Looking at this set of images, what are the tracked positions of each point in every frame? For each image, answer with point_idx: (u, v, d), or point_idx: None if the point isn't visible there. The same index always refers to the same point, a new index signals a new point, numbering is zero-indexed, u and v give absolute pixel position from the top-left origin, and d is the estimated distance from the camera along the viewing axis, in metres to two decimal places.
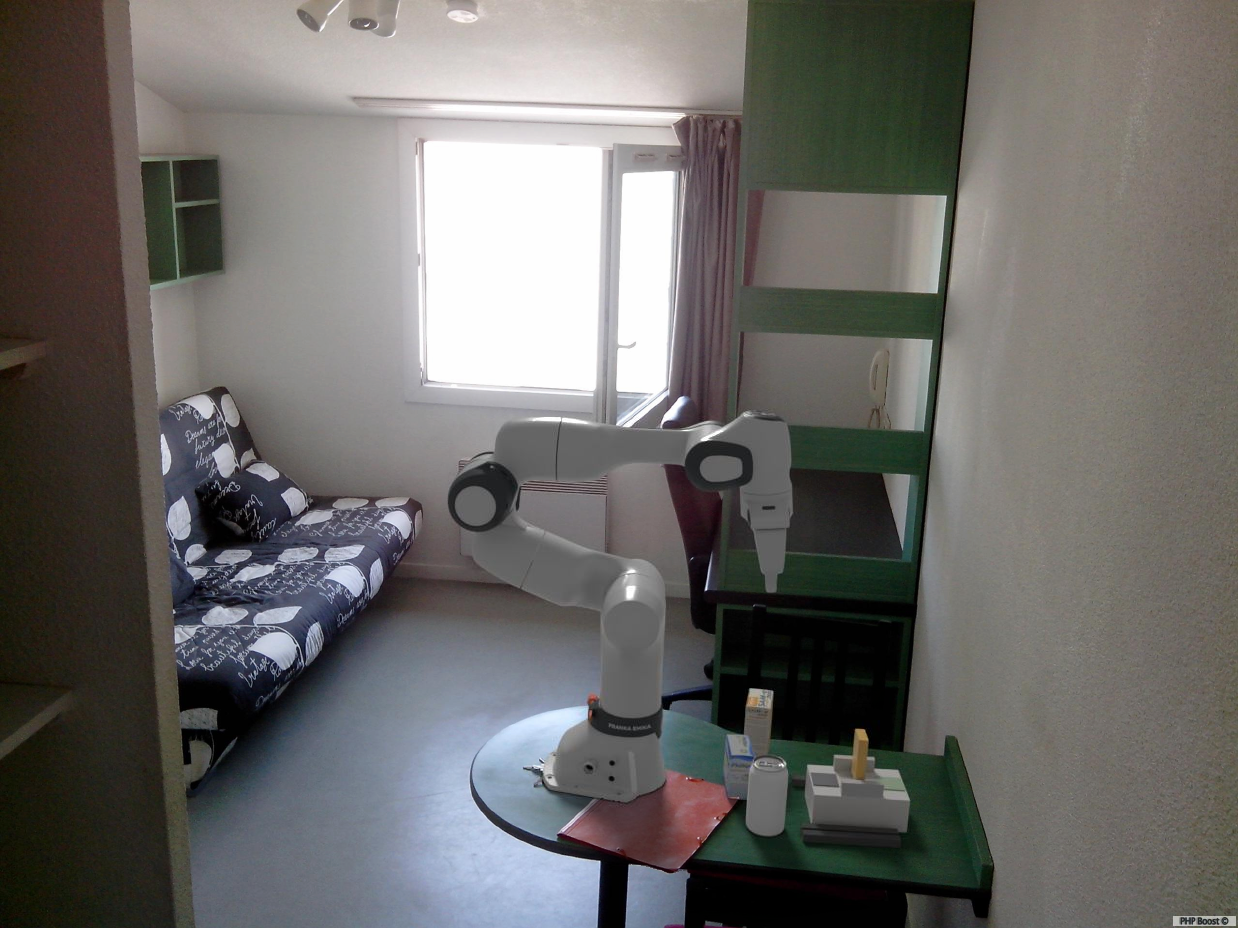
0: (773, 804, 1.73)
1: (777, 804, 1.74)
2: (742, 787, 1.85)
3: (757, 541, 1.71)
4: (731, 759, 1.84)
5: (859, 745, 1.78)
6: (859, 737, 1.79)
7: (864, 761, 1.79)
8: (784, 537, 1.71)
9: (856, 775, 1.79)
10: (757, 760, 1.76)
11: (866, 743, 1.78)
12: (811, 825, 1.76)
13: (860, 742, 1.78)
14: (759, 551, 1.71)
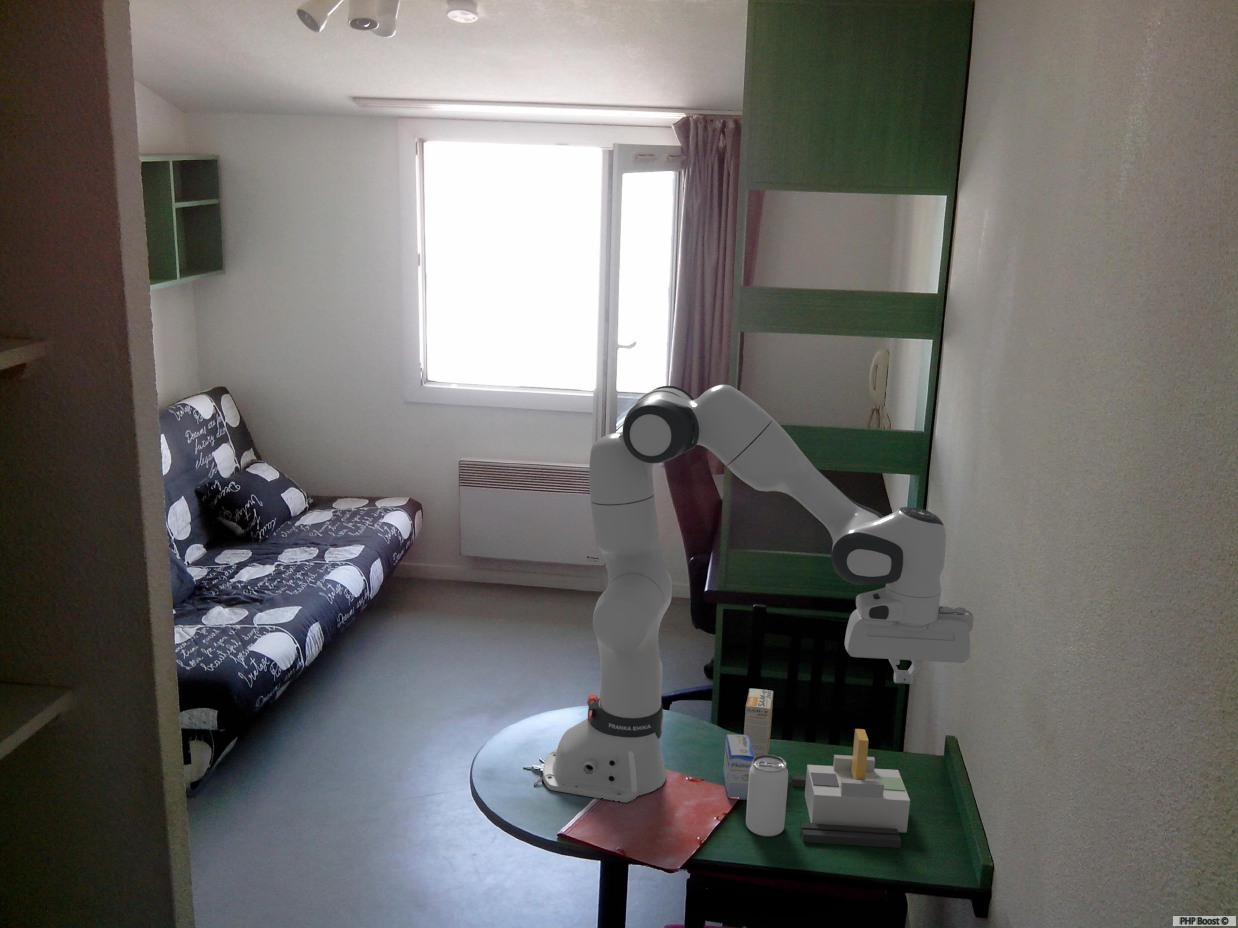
0: (773, 804, 1.73)
1: (777, 804, 1.74)
2: (742, 787, 1.85)
3: None
4: (731, 759, 1.84)
5: (859, 745, 1.78)
6: (859, 737, 1.79)
7: (864, 761, 1.79)
8: (855, 623, 1.73)
9: (856, 775, 1.79)
10: (757, 760, 1.76)
11: (866, 743, 1.78)
12: (811, 825, 1.76)
13: (860, 742, 1.78)
14: None
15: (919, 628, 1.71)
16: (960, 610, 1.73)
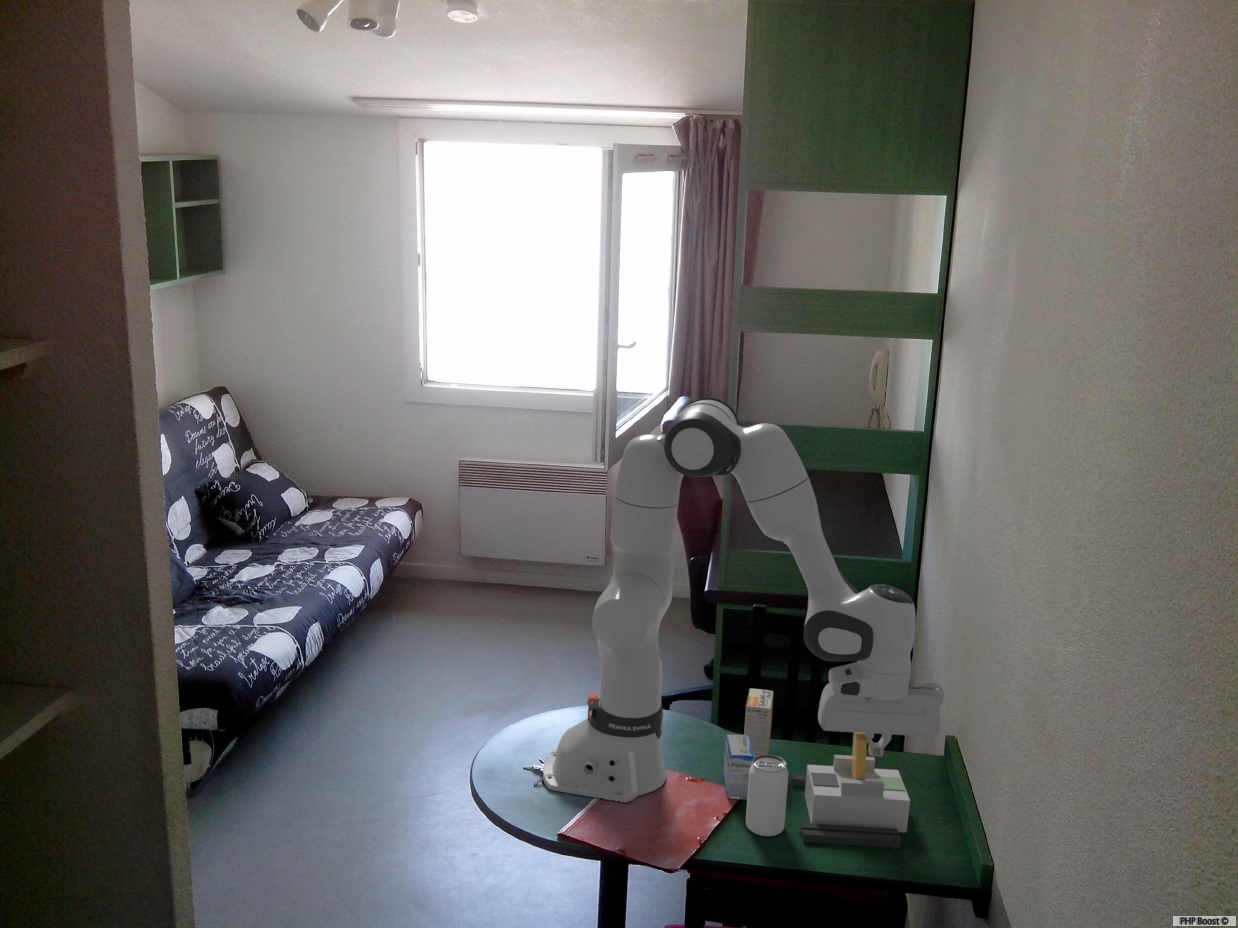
0: (773, 804, 1.73)
1: (777, 804, 1.74)
2: (742, 787, 1.85)
3: None
4: (731, 759, 1.84)
5: (858, 745, 1.78)
6: (858, 737, 1.79)
7: (863, 761, 1.79)
8: (828, 699, 1.76)
9: (856, 775, 1.79)
10: (757, 760, 1.76)
11: (865, 743, 1.78)
12: (811, 825, 1.76)
13: (859, 742, 1.78)
14: None
15: (890, 703, 1.75)
16: (930, 685, 1.76)
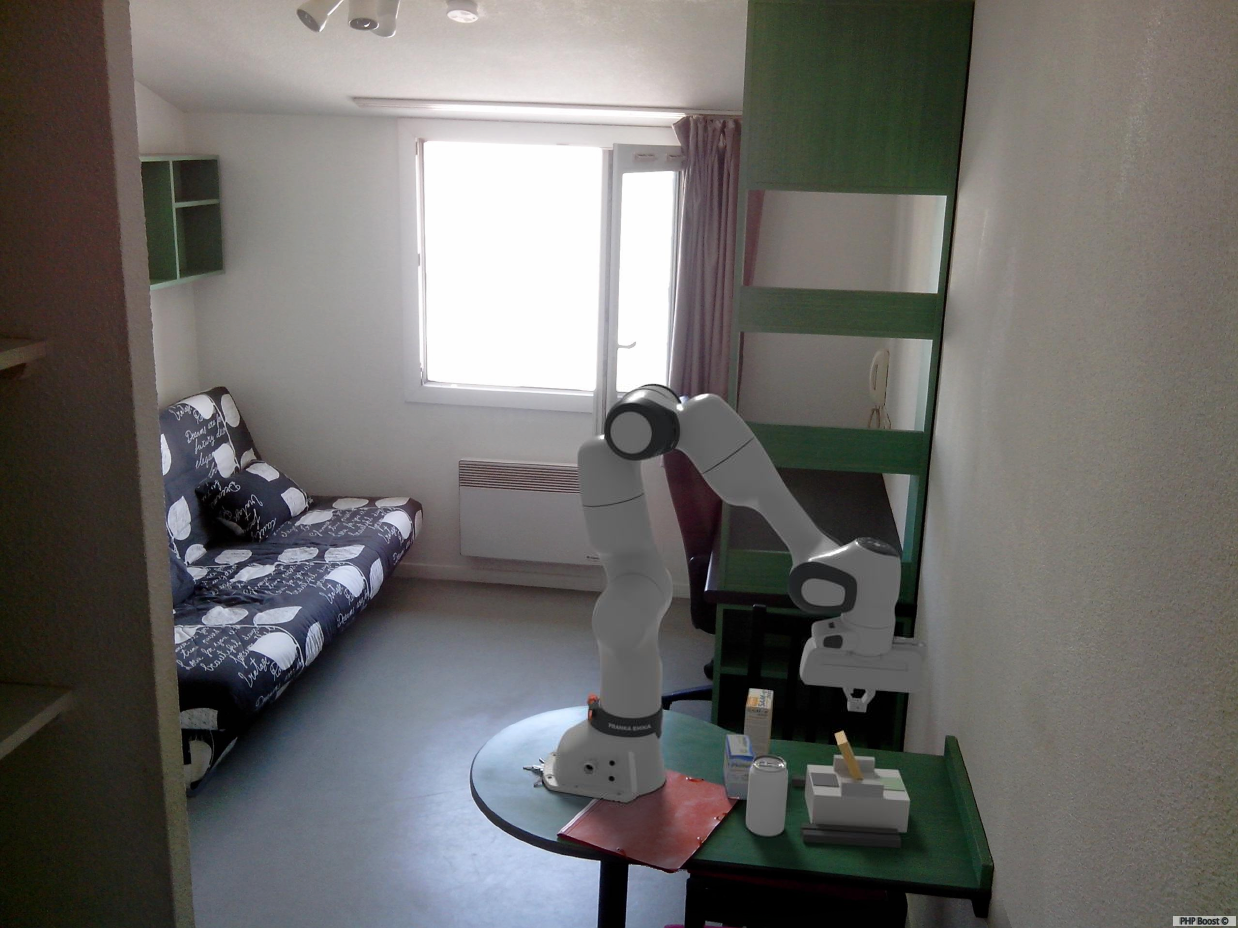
0: (773, 804, 1.73)
1: (777, 804, 1.74)
2: (742, 787, 1.85)
3: None
4: (731, 759, 1.84)
5: (841, 749, 1.78)
6: (838, 742, 1.79)
7: (853, 761, 1.79)
8: (810, 652, 1.74)
9: (853, 777, 1.79)
10: (757, 760, 1.76)
11: (846, 745, 1.78)
12: (811, 825, 1.76)
13: (840, 746, 1.78)
14: (803, 653, 1.79)
15: (872, 658, 1.73)
16: (914, 641, 1.75)
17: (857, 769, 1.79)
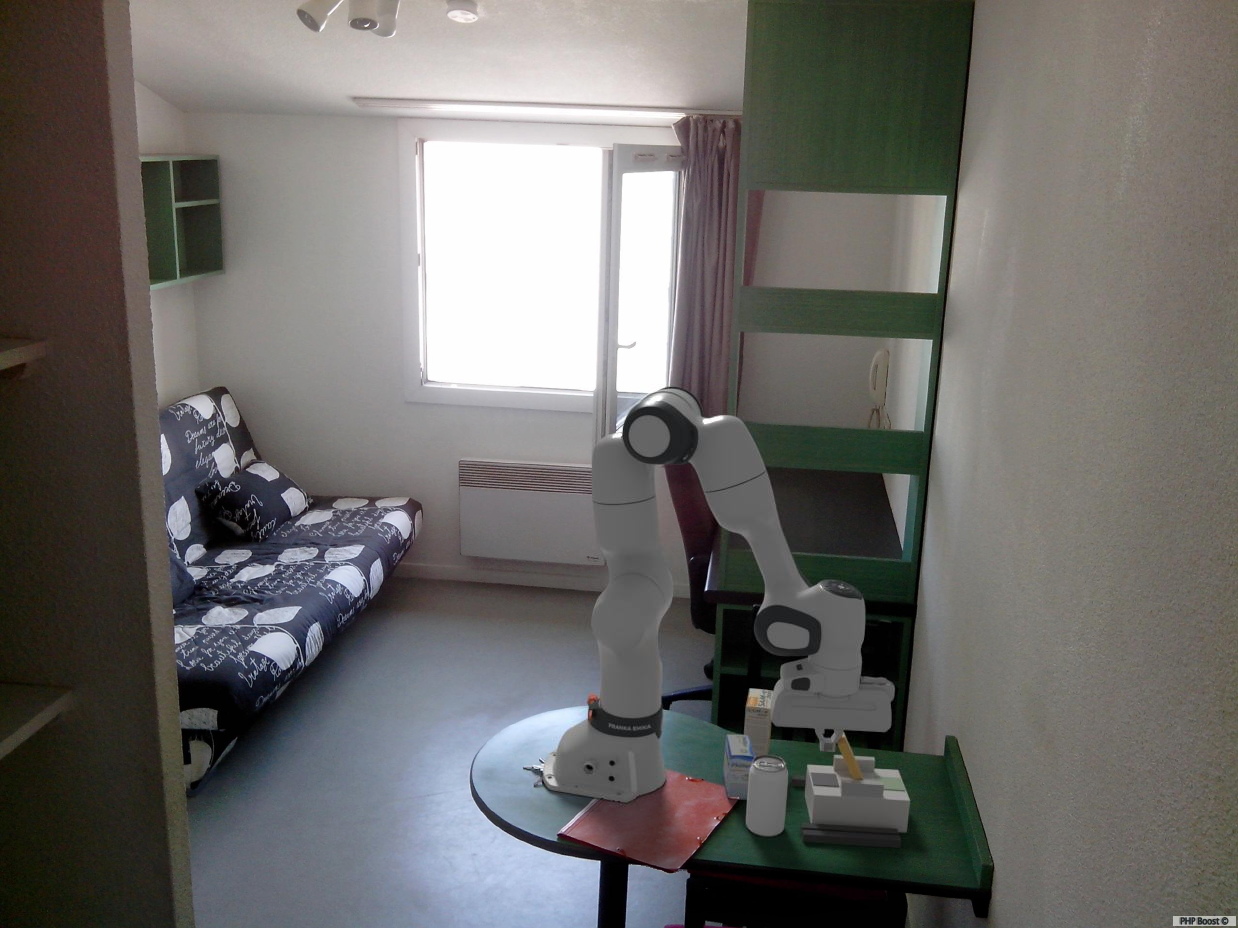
0: (773, 804, 1.73)
1: (777, 804, 1.74)
2: (742, 787, 1.85)
3: None
4: (731, 759, 1.84)
5: (840, 749, 1.78)
6: (838, 742, 1.79)
7: (853, 761, 1.79)
8: (778, 694, 1.76)
9: (853, 777, 1.79)
10: (757, 760, 1.76)
11: (846, 745, 1.78)
12: (811, 825, 1.76)
13: (840, 746, 1.78)
14: None
15: (840, 699, 1.75)
16: (881, 680, 1.77)
17: (857, 769, 1.79)
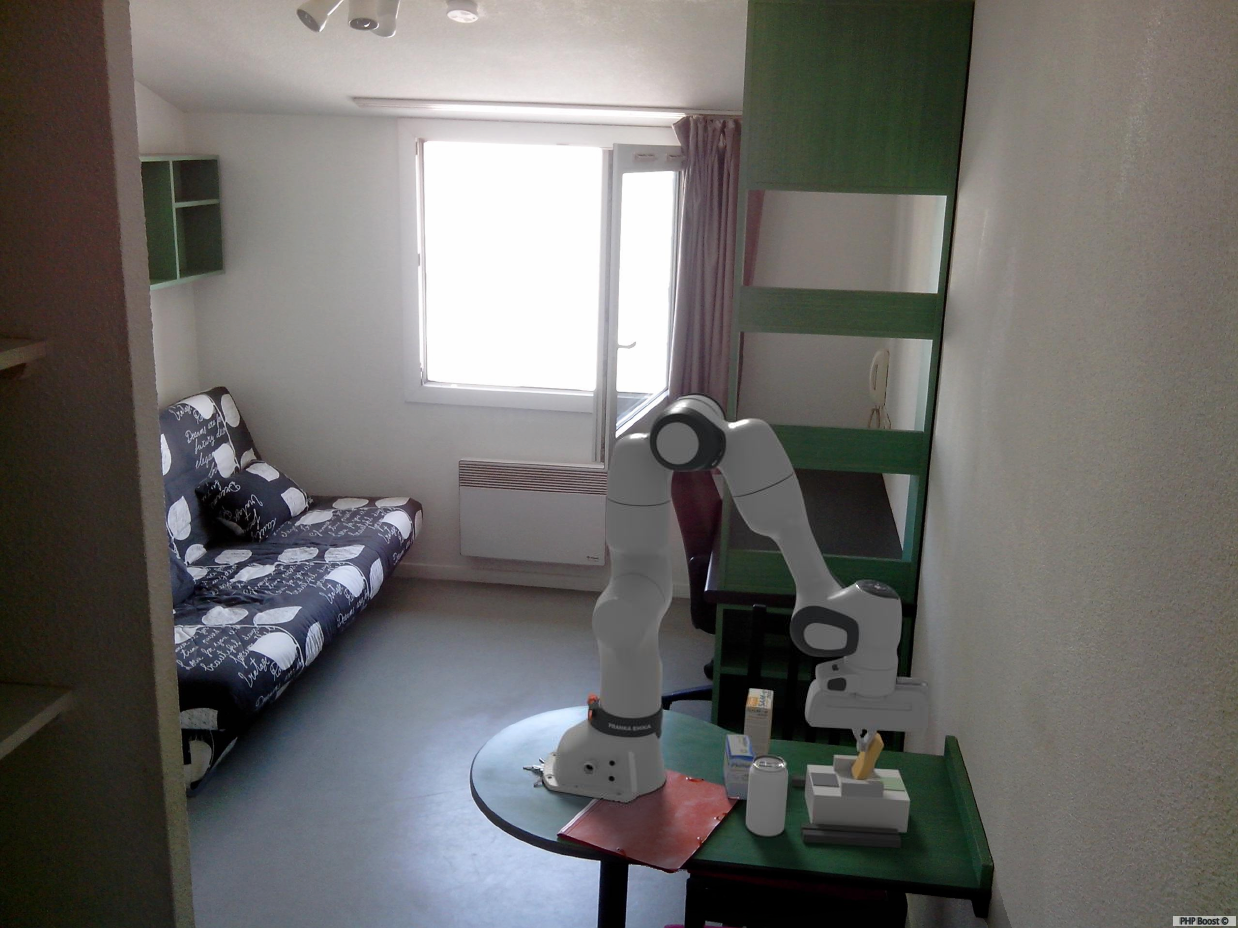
0: (773, 804, 1.73)
1: (777, 804, 1.74)
2: (742, 787, 1.85)
3: None
4: (731, 759, 1.84)
5: (873, 747, 1.78)
6: (875, 739, 1.79)
7: (872, 763, 1.79)
8: (814, 694, 1.76)
9: (859, 774, 1.79)
10: (757, 760, 1.76)
11: (880, 747, 1.78)
12: (811, 825, 1.76)
13: (875, 744, 1.78)
14: (807, 695, 1.80)
15: (876, 699, 1.75)
16: (917, 681, 1.76)
17: (868, 771, 1.79)
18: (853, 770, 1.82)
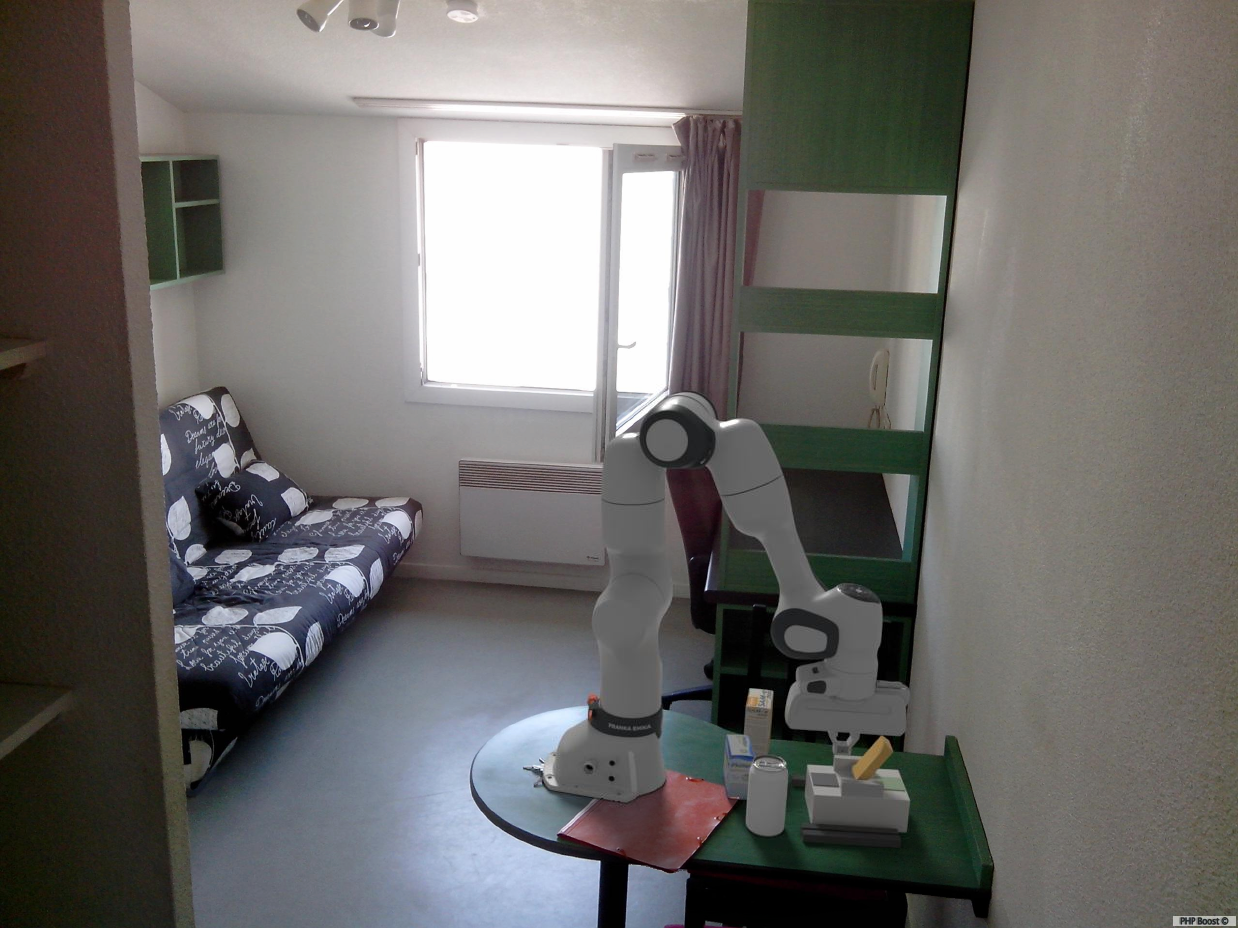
0: (773, 804, 1.73)
1: (777, 804, 1.74)
2: (742, 787, 1.85)
3: (791, 688, 1.81)
4: (731, 759, 1.84)
5: (882, 751, 1.78)
6: (885, 744, 1.79)
7: (876, 767, 1.79)
8: (794, 697, 1.76)
9: (861, 775, 1.79)
10: (757, 760, 1.76)
11: (889, 753, 1.78)
12: (811, 825, 1.76)
13: (885, 749, 1.78)
14: None
15: (856, 702, 1.75)
16: (897, 685, 1.77)
17: (871, 774, 1.79)
18: (854, 769, 1.82)
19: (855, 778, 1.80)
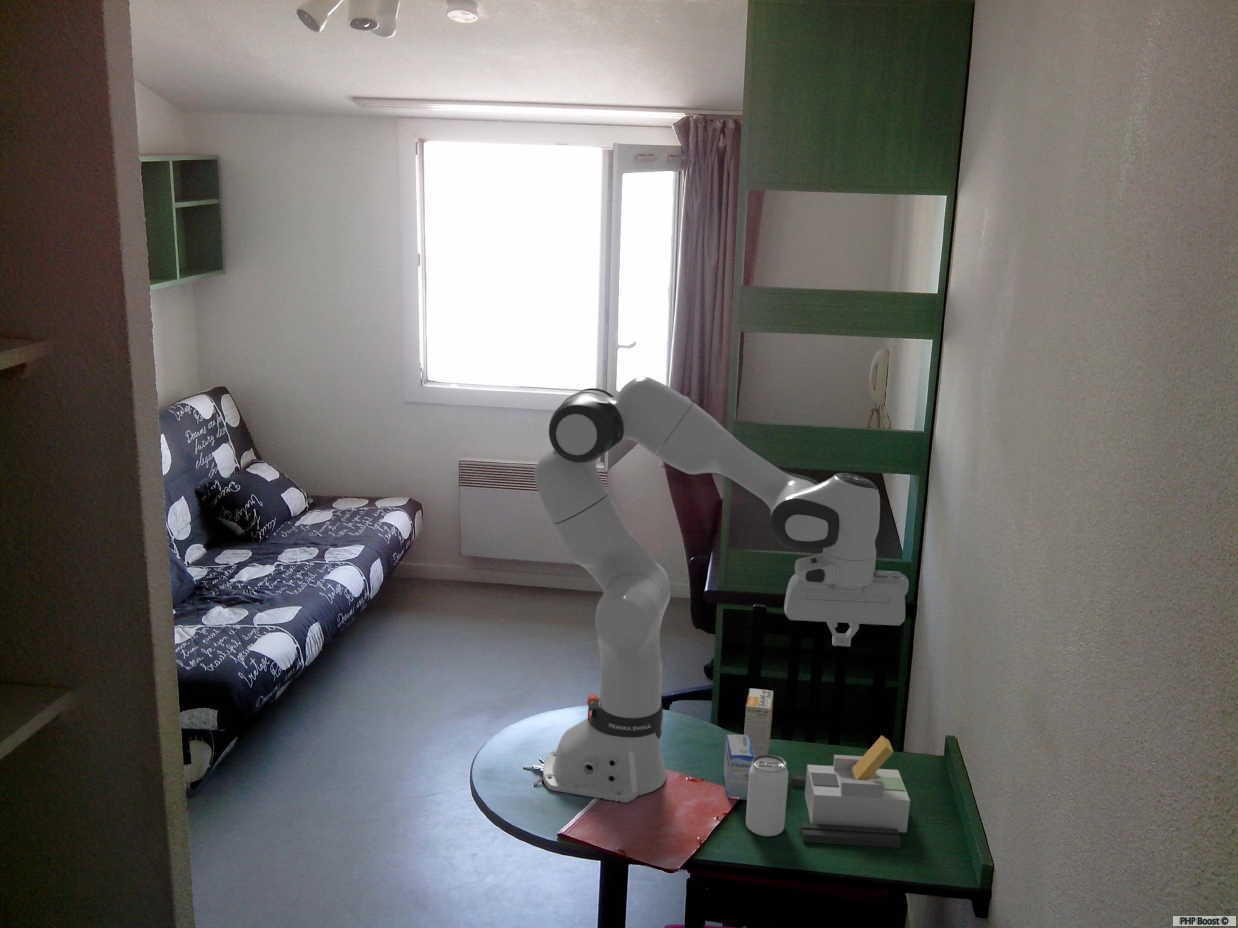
0: (773, 804, 1.73)
1: (777, 804, 1.74)
2: (742, 787, 1.85)
3: (790, 581, 1.81)
4: (731, 759, 1.84)
5: (882, 751, 1.78)
6: (885, 744, 1.79)
7: (876, 767, 1.79)
8: (793, 587, 1.77)
9: (861, 775, 1.79)
10: (757, 760, 1.76)
11: (889, 753, 1.78)
12: (811, 825, 1.76)
13: (885, 749, 1.78)
14: (787, 590, 1.82)
15: (855, 591, 1.76)
16: (895, 574, 1.77)
17: (871, 774, 1.79)
18: (854, 769, 1.82)
19: (855, 778, 1.80)
